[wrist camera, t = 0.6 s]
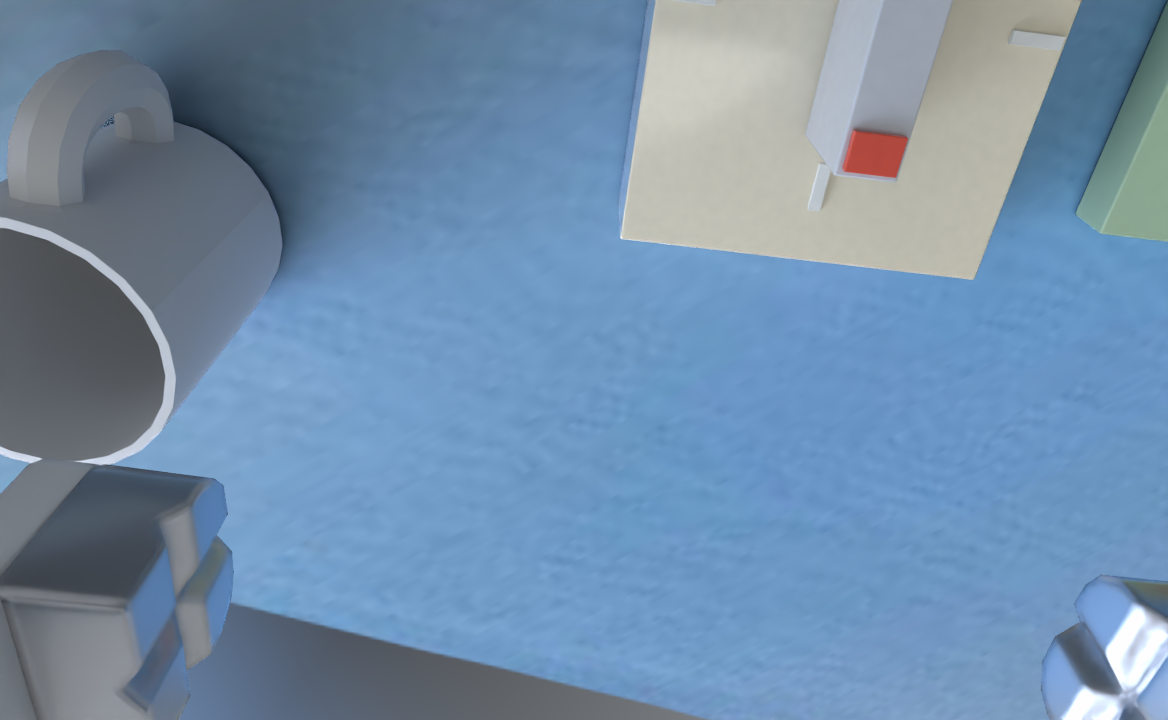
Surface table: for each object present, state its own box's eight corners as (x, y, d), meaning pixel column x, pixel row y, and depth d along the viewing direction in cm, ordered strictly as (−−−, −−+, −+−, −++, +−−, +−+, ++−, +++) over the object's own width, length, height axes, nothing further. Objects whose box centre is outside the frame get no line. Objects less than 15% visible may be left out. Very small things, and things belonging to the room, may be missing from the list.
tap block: (695, -328, 21) (709, -356, 19) (1121, -266, 22) (1196, -283, 19) (618, 204, 28) (620, 241, 26) (941, 242, 29) (976, 283, 26)
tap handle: (870, -129, 21) (919, -126, 18) (934, -120, 21) (995, -115, 18) (804, 135, 24) (836, 179, 21) (859, 142, 24) (899, 187, 21)
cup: (80, 296, 30) (-95, 444, 23) (45, -2, 25) (-196, 60, 18) (285, 331, 31) (182, 488, 23) (291, 48, 26) (161, 128, 18)
